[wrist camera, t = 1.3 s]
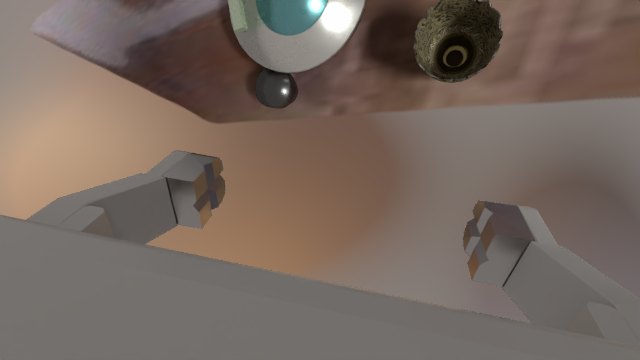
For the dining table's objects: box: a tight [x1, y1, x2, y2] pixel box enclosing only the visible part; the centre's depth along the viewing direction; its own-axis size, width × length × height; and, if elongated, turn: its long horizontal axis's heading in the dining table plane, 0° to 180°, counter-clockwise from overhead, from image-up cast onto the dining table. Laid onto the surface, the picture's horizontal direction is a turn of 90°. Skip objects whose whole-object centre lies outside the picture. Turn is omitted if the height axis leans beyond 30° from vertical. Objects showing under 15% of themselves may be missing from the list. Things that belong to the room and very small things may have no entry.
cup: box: [413, 0, 503, 83], centre depth 32 cm, size 8×7×8 cm
